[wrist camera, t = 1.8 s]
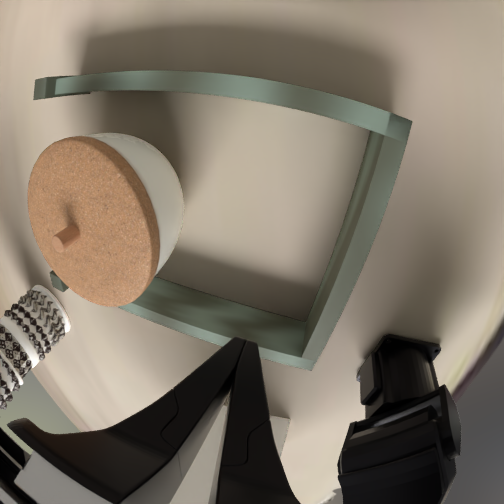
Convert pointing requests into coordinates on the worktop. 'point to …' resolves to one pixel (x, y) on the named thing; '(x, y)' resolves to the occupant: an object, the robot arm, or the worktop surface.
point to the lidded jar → (105, 214)
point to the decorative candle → (28, 336)
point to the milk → (202, 469)
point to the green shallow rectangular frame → (349, 241)
